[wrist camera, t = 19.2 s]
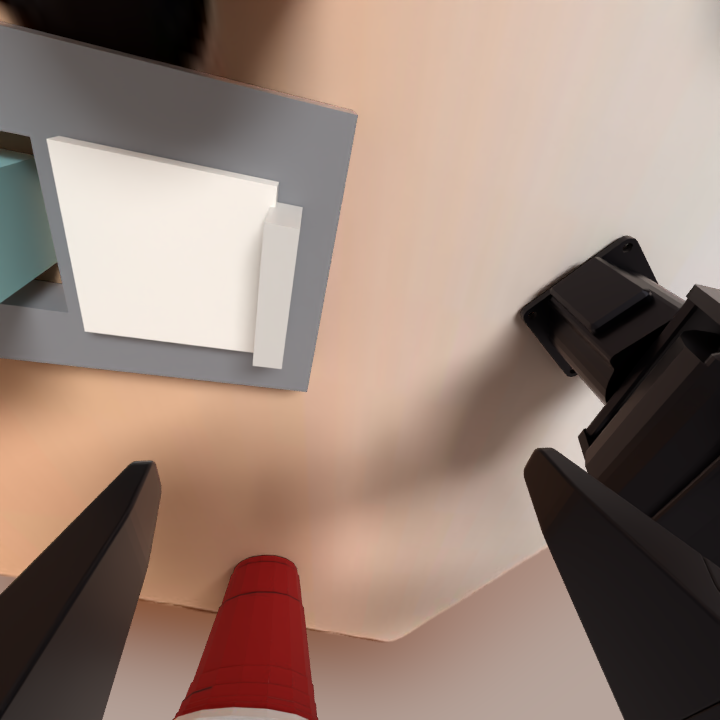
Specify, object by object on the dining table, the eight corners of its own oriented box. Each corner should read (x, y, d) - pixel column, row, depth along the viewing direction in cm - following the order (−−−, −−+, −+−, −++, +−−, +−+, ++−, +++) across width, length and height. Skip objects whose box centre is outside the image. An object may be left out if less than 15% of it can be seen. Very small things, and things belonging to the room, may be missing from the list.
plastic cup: (215, 529, 32) (171, 726, 22) (340, 547, 35) (348, 727, 26) (191, 592, 38) (147, 772, 28) (301, 603, 41) (295, 768, 31)
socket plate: (352, 110, 16) (358, 115, 14) (307, 364, 23) (307, 391, 21) (-234, -39, 13) (-340, -61, 11) (-74, 317, 20) (-119, 344, 18)
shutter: (305, 187, 15) (302, 206, 13) (284, 347, 19) (279, 383, 17) (59, 135, 14) (7, 147, 11) (93, 321, 18) (60, 357, 16)
